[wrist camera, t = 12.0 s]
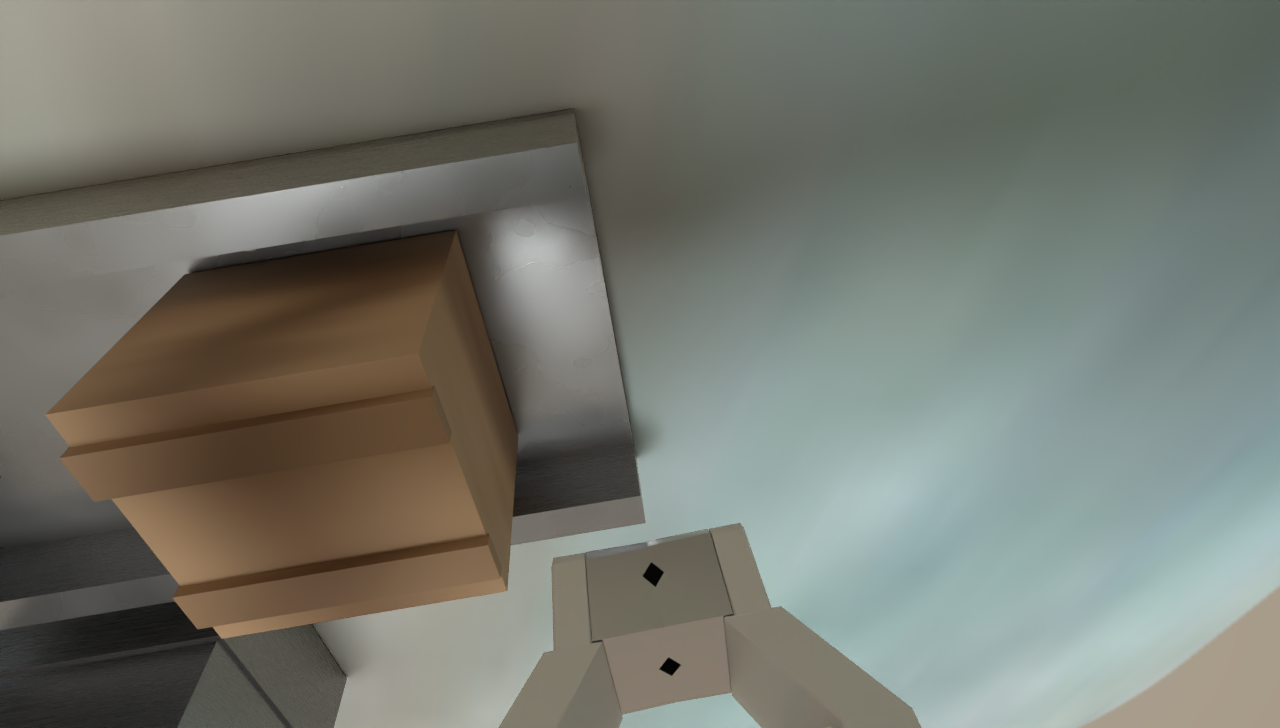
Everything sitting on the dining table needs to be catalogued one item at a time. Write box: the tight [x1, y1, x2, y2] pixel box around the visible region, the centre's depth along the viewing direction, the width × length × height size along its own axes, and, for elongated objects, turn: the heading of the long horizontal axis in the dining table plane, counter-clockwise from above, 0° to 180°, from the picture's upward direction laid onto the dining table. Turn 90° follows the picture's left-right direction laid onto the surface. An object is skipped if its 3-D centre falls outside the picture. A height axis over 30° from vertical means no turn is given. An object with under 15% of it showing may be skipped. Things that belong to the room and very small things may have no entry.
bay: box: [0, 108, 645, 630], centre depth 16 cm, size 20×10×4 cm, turn 98°
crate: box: [45, 230, 518, 639], centre depth 15 cm, size 6×6×5 cm
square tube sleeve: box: [0, 601, 347, 728], centre depth 20 cm, size 7×7×6 cm
